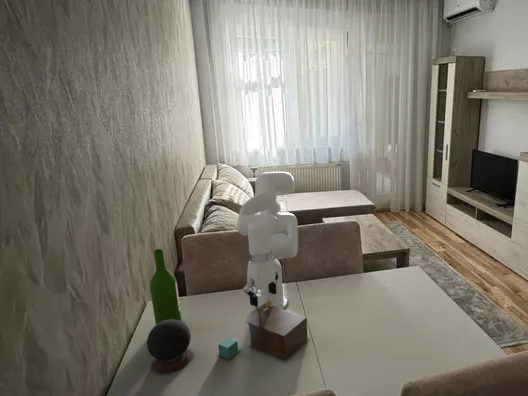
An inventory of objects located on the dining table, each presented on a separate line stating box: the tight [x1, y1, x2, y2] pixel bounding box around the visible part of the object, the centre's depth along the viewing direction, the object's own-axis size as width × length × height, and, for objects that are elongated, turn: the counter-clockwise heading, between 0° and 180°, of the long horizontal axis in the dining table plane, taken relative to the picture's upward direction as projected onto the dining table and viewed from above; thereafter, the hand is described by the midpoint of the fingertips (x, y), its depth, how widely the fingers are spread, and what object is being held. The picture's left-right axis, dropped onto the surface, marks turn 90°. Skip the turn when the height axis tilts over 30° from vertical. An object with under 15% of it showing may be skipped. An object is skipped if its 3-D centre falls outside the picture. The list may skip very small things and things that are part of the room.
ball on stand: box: [146, 319, 192, 373], centre depth 129 cm, size 13×13×15 cm
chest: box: [249, 318, 308, 361], centre depth 139 cm, size 16×13×9 cm
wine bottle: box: [149, 248, 183, 326], centre depth 145 cm, size 9×9×32 cm
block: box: [217, 336, 239, 360], centre depth 134 cm, size 4×4×4 cm
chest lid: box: [247, 301, 308, 338], centre depth 137 cm, size 17×13×5 cm
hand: (263, 299), depth 138 cm, fingers open, 9 cm apart
